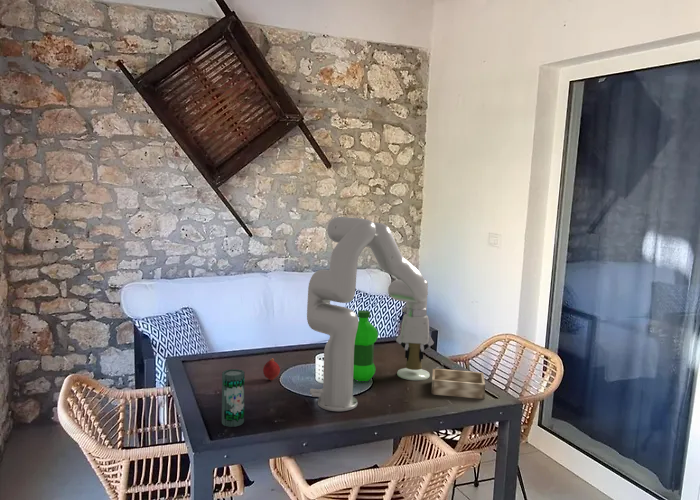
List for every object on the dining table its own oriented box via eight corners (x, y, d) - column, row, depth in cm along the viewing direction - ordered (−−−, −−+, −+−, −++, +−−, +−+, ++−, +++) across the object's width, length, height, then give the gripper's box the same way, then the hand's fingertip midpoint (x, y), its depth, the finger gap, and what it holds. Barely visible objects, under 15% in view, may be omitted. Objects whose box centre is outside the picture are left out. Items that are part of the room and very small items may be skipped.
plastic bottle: (343, 382, 205) (346, 313, 202) (352, 373, 215) (354, 307, 212) (371, 386, 202) (373, 316, 199) (378, 376, 212) (381, 310, 209)
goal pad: (395, 378, 211) (395, 376, 211) (398, 368, 222) (398, 366, 222) (429, 381, 209) (429, 379, 209) (430, 371, 220) (430, 369, 220)
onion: (268, 384, 201) (268, 361, 200) (259, 379, 205) (260, 357, 204) (282, 381, 205) (283, 359, 204) (274, 376, 209) (274, 355, 208)
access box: (431, 394, 196) (432, 379, 196) (432, 381, 209) (433, 368, 208) (484, 399, 194) (485, 384, 193) (482, 386, 206) (483, 372, 205)
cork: (421, 370, 212) (422, 341, 210) (404, 369, 213) (406, 339, 212) (422, 365, 218) (423, 337, 216) (406, 364, 219) (407, 335, 218)
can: (227, 428, 165) (227, 377, 163) (218, 420, 170) (219, 371, 168) (247, 423, 168) (247, 373, 166) (238, 416, 173) (238, 367, 171)
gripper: (392, 312, 210) (390, 361, 213) (438, 315, 208) (436, 365, 210) (394, 308, 218) (392, 355, 220) (439, 311, 215) (436, 359, 217)
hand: (414, 359), depth 215 cm, fingers closed on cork, 3 cm apart
